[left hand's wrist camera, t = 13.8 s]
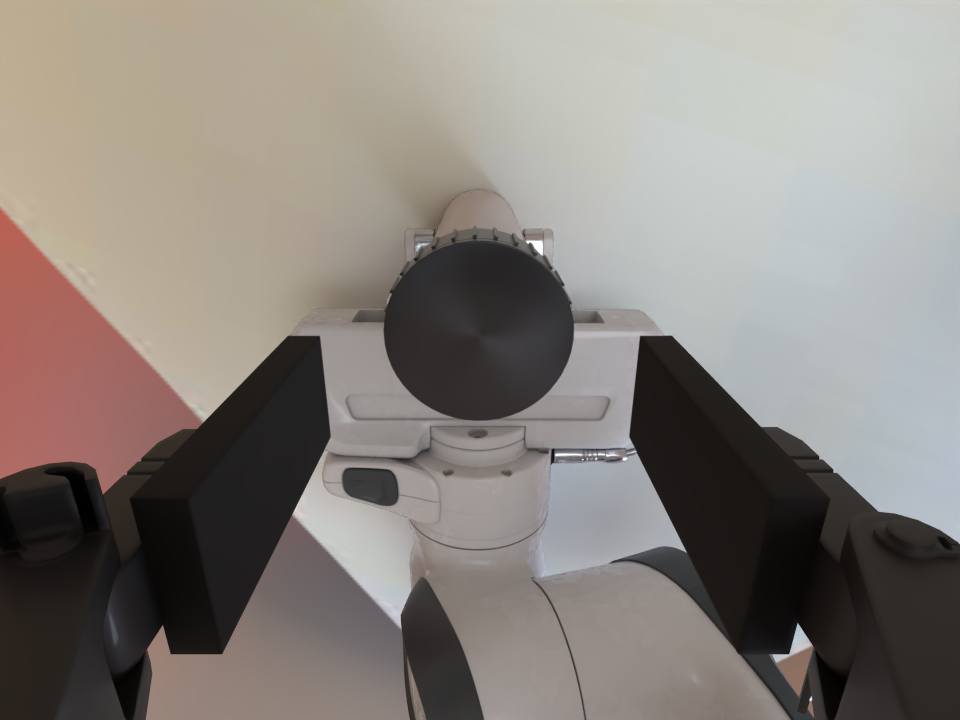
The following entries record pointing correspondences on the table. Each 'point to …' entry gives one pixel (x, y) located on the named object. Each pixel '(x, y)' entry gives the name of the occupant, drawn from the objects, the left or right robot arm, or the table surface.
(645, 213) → the table surface
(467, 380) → the lid
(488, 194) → the brown cylinder
